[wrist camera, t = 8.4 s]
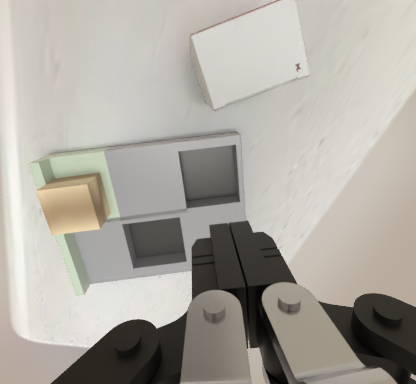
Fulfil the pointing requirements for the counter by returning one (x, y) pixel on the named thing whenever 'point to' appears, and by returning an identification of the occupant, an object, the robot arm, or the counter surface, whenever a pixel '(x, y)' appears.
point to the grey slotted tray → (149, 204)
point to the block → (74, 203)
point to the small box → (249, 53)
